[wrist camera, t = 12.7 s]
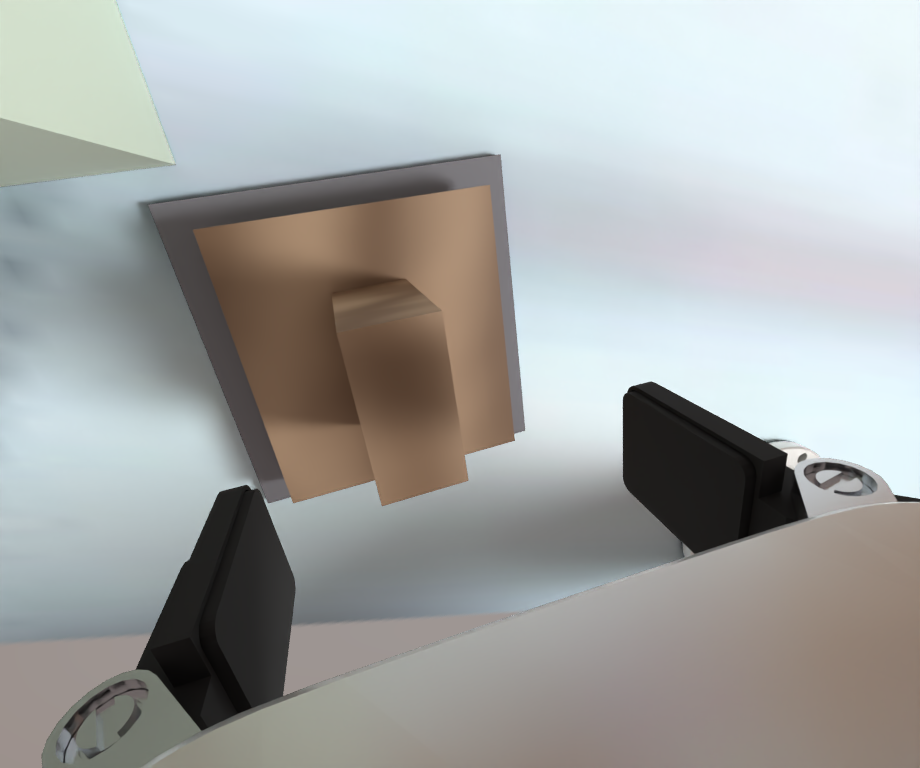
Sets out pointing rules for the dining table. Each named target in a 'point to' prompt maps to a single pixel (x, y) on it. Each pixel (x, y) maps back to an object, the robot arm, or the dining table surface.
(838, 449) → the dining table surface
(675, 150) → the dining table surface
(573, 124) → the dining table surface
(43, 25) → the box
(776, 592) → the robot arm
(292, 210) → the mat
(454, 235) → the lid
